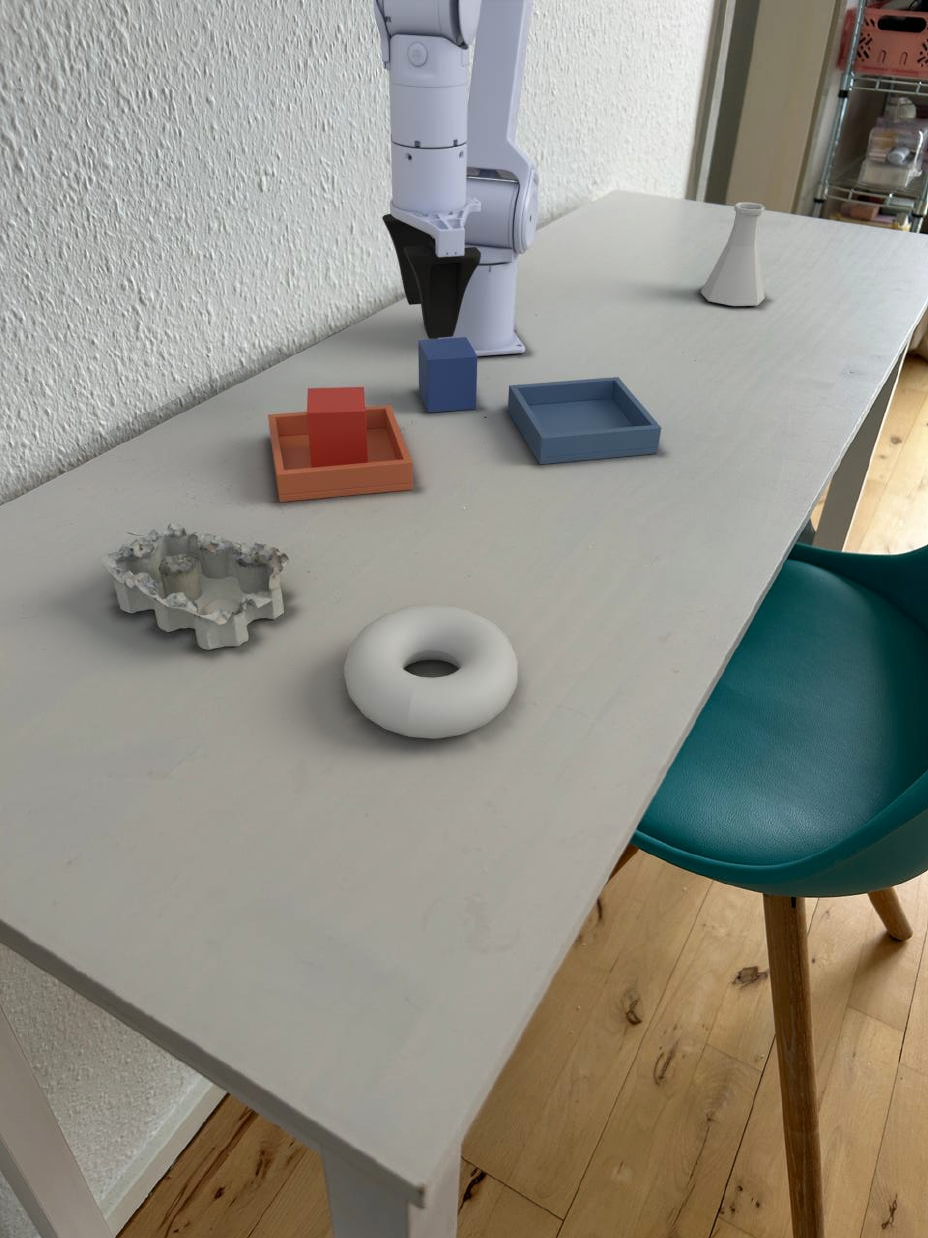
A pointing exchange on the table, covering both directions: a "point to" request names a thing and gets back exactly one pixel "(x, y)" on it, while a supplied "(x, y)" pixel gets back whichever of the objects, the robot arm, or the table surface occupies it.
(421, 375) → the blue block
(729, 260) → the flask
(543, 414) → the blue tray
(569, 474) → the table surface
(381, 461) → the orange tray
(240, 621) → the egg carton
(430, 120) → the robot arm
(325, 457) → the red block
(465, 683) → the donut
